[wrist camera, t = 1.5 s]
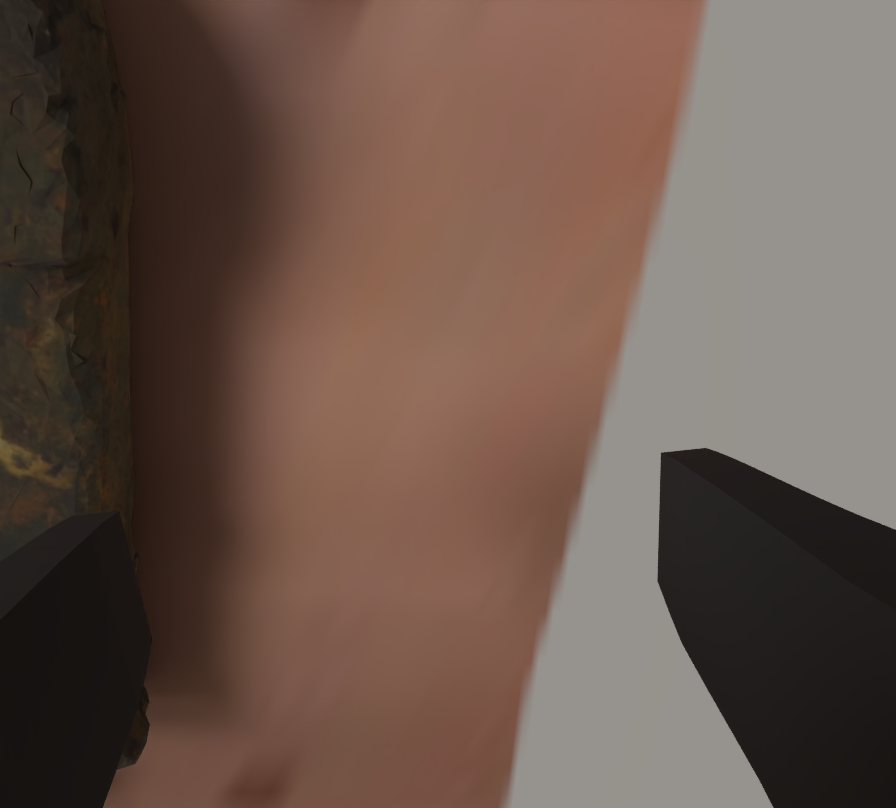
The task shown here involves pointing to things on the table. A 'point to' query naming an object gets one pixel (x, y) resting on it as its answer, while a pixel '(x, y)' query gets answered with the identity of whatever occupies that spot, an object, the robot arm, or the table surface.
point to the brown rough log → (64, 279)
